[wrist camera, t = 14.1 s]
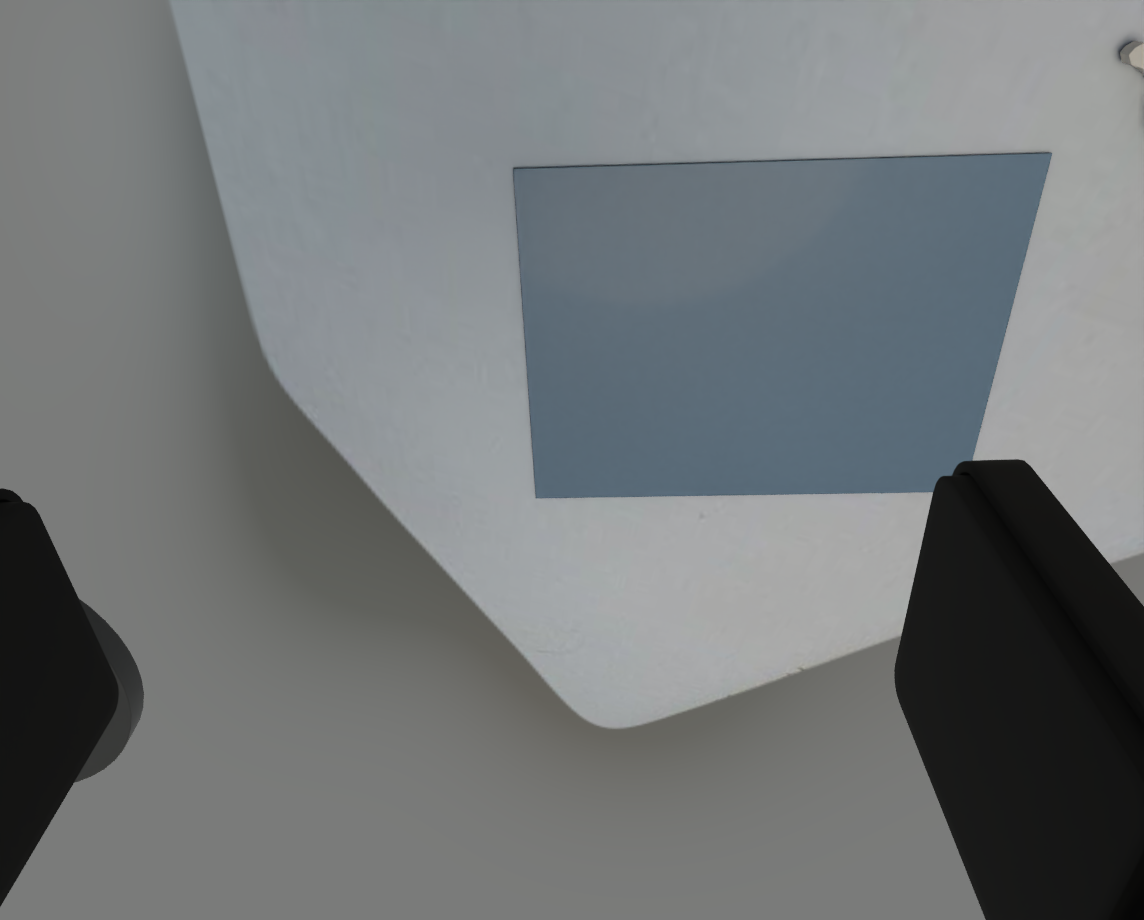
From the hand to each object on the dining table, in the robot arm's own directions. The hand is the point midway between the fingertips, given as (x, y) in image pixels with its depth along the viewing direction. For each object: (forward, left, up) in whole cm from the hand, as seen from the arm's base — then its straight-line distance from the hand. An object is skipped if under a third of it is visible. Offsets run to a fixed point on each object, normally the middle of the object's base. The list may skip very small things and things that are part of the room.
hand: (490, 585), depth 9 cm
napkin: (+8, -10, -28) cm, 31 cm away
